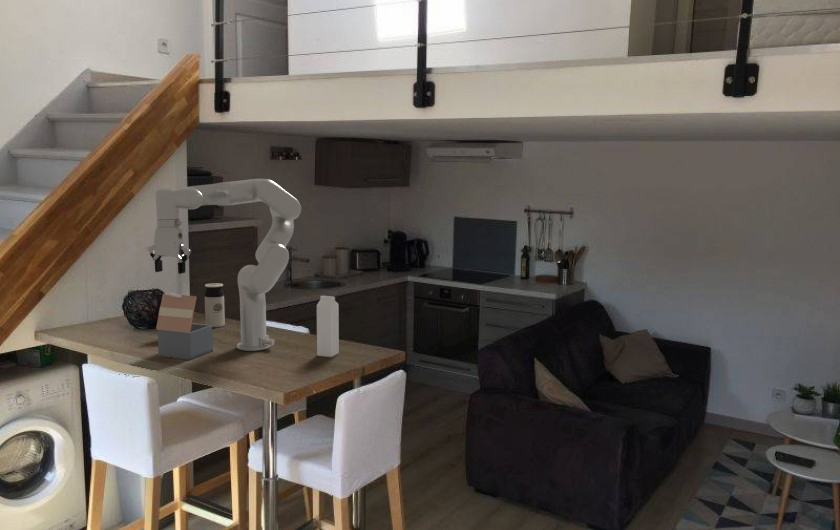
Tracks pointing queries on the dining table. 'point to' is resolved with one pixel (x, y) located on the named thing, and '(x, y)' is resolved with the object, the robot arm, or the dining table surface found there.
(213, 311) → the travel mug
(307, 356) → the dining table surface
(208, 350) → the carton
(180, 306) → the lid
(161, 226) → the robot arm
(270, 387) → the dining table surface
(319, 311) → the milk
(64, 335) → the dining table surface
